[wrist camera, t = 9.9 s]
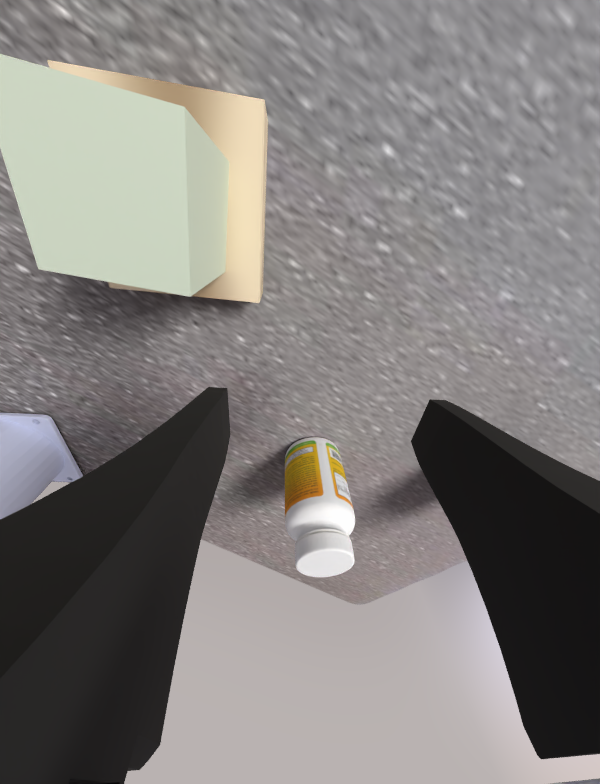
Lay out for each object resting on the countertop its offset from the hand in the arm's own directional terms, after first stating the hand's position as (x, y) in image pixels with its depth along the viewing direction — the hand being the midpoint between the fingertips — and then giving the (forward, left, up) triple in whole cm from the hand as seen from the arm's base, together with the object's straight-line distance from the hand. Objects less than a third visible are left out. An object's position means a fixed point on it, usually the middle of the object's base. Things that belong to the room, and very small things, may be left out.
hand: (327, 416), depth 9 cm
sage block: (-7, +6, -8) cm, 12 cm away
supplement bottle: (+2, -13, -11) cm, 17 cm away
